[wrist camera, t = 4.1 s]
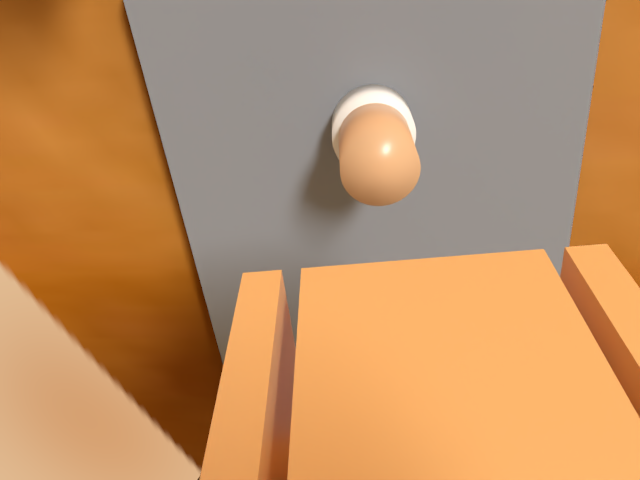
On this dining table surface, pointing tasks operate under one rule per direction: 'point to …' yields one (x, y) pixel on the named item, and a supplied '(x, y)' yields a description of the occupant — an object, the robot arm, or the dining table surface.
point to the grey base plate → (366, 129)
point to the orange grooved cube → (434, 372)
